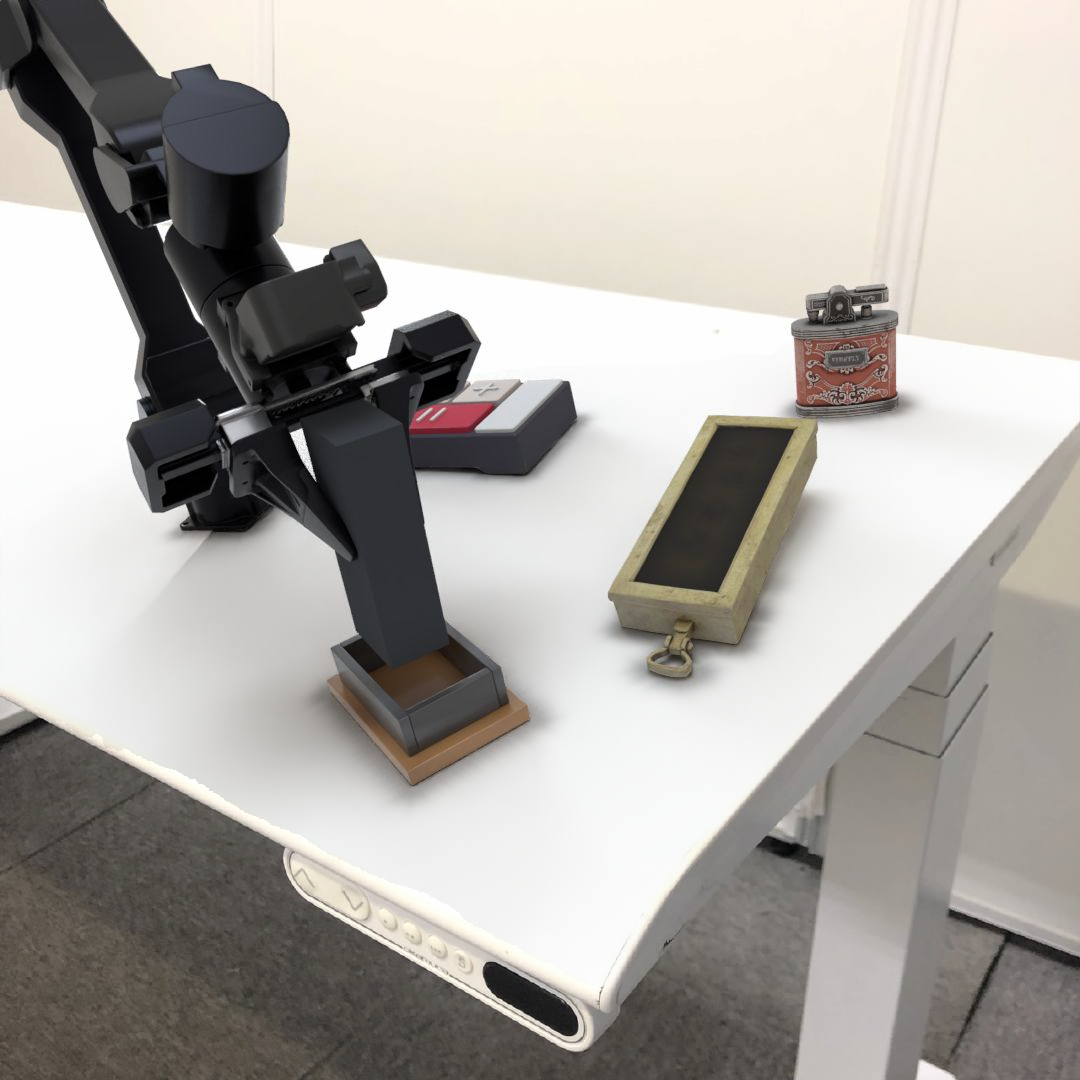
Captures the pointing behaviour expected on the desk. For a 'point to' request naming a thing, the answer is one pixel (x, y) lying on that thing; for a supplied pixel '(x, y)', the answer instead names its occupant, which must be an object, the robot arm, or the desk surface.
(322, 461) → the back pad
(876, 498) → the desk surface
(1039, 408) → the desk surface
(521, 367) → the desk surface
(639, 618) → the box
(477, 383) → the calculator
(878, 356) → the lighter
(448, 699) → the grey tray
